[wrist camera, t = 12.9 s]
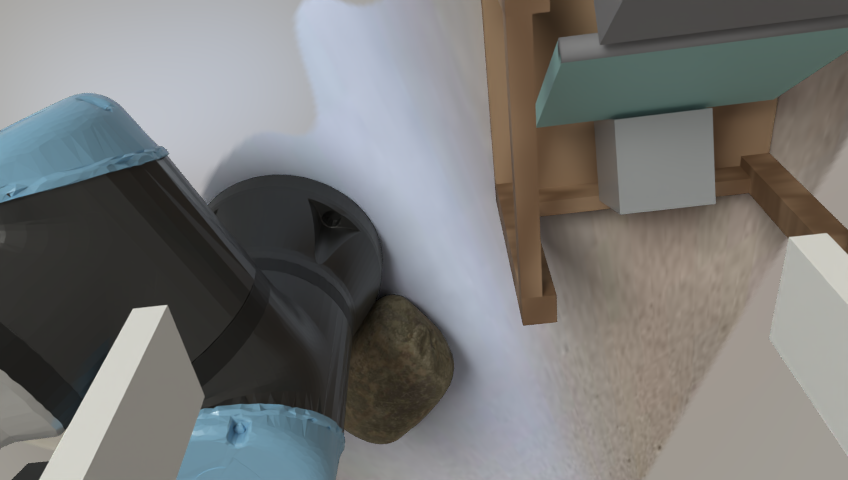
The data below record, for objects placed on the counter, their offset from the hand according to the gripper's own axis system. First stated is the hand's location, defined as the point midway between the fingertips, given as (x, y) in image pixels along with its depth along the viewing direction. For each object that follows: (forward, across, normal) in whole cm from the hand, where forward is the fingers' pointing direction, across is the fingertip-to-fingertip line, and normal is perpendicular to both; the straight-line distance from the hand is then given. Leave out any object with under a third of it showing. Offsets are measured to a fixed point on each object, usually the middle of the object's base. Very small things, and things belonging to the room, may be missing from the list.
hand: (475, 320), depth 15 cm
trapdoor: (+25, +13, 0) cm, 28 cm away
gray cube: (+31, +13, -10) cm, 35 cm away
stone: (+35, -8, -32) cm, 48 cm away
